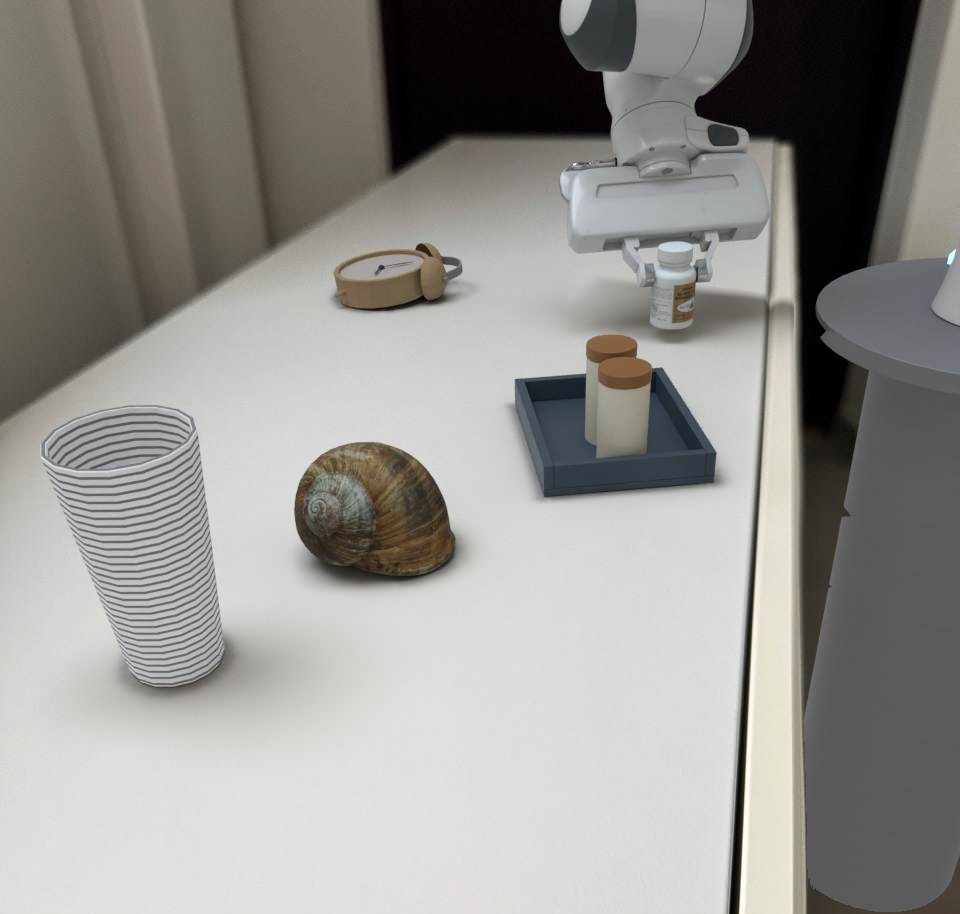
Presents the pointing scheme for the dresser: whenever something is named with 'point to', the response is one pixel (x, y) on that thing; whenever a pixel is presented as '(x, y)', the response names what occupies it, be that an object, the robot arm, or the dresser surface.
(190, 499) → the cup
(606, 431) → the matching bottles
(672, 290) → the pill bottle
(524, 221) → the dresser surface
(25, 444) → the dresser surface
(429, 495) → the seashell
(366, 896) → the dresser surface
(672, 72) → the robot arm
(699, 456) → the tray
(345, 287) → the alarm clock
